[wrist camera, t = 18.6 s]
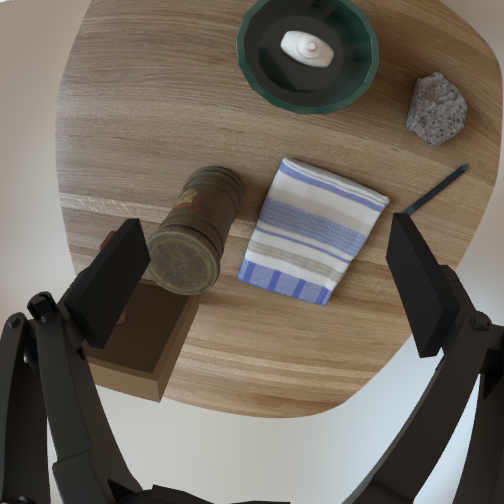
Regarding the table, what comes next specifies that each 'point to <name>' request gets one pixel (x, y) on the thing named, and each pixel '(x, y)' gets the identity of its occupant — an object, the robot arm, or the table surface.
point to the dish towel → (309, 232)
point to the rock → (436, 110)
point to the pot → (299, 75)
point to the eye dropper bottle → (306, 49)
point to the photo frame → (144, 341)
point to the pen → (436, 190)
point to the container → (195, 232)
